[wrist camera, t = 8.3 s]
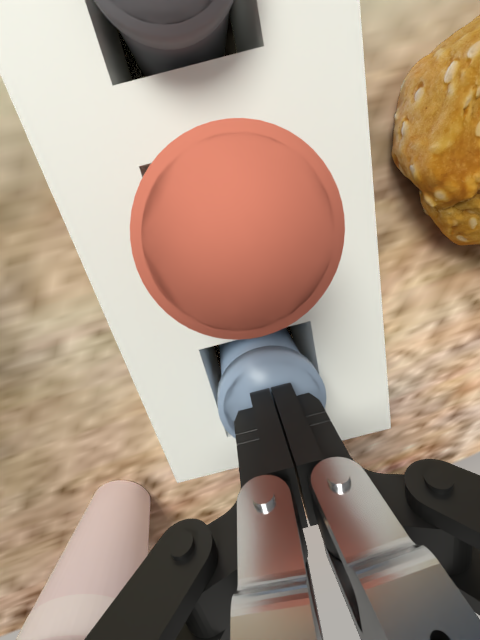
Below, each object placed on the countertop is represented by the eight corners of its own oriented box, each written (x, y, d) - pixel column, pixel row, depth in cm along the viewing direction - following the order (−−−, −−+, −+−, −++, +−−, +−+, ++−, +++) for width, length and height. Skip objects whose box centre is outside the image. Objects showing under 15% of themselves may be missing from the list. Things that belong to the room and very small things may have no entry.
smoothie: (68, 530, 22) (-137, 1022, 9) (73, 458, 20) (-186, 968, 7) (163, 537, 23) (104, 986, 10) (178, 469, 21) (128, 928, 8)
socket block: (7, -56, 11) (-131, -229, 7) (282, -128, 11) (333, -352, 7) (184, 413, 19) (177, 483, 15) (346, 371, 19) (391, 427, 15)
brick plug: (152, 173, 11) (93, 151, 5) (267, 143, 11) (330, 89, 5) (187, 284, 12) (170, 360, 7) (288, 258, 12) (354, 312, 7)
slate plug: (206, 312, 17) (204, 372, 11) (281, 292, 17) (317, 343, 11) (225, 376, 18) (233, 458, 12) (294, 359, 18) (332, 432, 12)
